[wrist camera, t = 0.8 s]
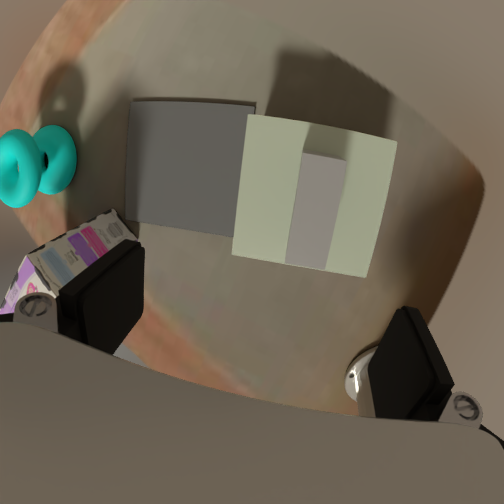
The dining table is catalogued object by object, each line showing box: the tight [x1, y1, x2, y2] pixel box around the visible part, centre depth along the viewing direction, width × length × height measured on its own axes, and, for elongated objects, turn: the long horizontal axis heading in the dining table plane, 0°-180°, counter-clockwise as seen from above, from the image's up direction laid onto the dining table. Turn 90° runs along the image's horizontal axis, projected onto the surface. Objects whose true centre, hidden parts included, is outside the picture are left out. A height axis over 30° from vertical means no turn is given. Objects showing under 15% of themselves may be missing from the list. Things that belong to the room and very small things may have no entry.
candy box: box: [0, 209, 138, 314], centre depth 33 cm, size 14×6×16 cm, turn 128°
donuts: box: [0, 125, 77, 208], centre depth 32 cm, size 10×10×10 cm
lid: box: [232, 114, 397, 278], centre depth 24 cm, size 13×13×7 cm
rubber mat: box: [125, 101, 255, 237], centre depth 34 cm, size 15×15×1 cm
